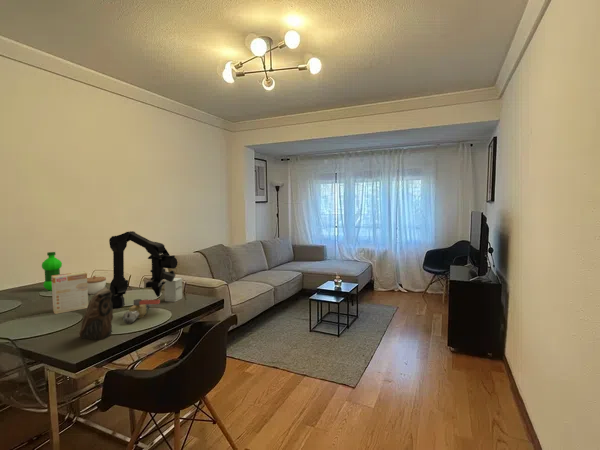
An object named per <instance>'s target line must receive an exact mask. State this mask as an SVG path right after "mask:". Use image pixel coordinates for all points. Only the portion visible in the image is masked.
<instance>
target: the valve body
mask: <svg viewBox="0 0 600 450" xmlns="http://www.w3.org/2000/svg"><path fill="white" fill-rule="evenodd" d="M143 300H148V299H146V298H144V299H143ZM151 306H152V304H141V305H137V306H135V305H134V304H133V305H132V306H130V307H129V308H128V311H126V312H125V313H124V314H123V315H122V320H123V322H124V323H125V324H127V325H129V324H132V323H134V322H135V321H136V320H137V319H142V318H144V317H145V316H146V315H147V310H149V309H150V308H151ZM145 314H146V315H145ZM144 315H145V316H144Z"/></svg>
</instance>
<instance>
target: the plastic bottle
mask: <svg viewBox="0 0 600 450" xmlns="http://www.w3.org/2000/svg"><path fill="white" fill-rule="evenodd" d="M47 256H48V257H47V258H46V259H44V261H43V262H42V263H41V268H42V270H43V271H44V282H43V285H42V286H43V288H45V289H46V290H47V291H50V292H52V279H51V276H52V275H60V274H61V268H62V266H63V265H62V264H63V263H62V261H61V260H60V259H59V258H57V257H56V251H50V252H47Z"/></svg>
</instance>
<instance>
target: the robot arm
mask: <svg viewBox="0 0 600 450" xmlns="http://www.w3.org/2000/svg"><path fill="white" fill-rule="evenodd" d="M108 242H109V248H110V250H111V251H112V252H113V253H112V255H113V259H112V260H113V261H112V262H113V263H112V264H113V270H112V271H113V278H112V280H111V282H110V285H109V289H110V291H111V293H112V296H111V302H112V303H113V306H112V308H113V309H120V308H122V307H124V305H125V304H126V303H125V297H124V295H126V293H127V290H128V288H129V279H126V278H125V274H124V273H125V271H124V270H125V266H124V265H125V262H124V260H125V258H124V257H125V256H124V255H125V254H124V253H125V249H126V248H127V247H128V242H132V243H134V244H136V245H138V246H140V247H142V248H143V249H145V250H146V252H147V253H148V254H149V256H148V257H147V259H148V260H151V269H150V273H151V278H150V280H148V281H147V282H145V288H147V289H148V288H149V289H150V288H151V289H152V290H153V292H154V294H155V295H156V297H157V298H159V297H160V296H161V292H162V288H163V286H165V283H166V282H164V280H168V281H170V282H172V281H173V280H174V278H176V273H175V270H169V271H166V269H176V268H177V266H178V260H177V258H176V256H175V255H174V254H173V255H170V253H169V252H168V250H167V249H166V247H165V244H163V243H161V242H157V241H153V240H150V239H148V238H146V237H144V236H142V235H141V234H138V233H136V231H131V230H130V231H125V232H124V233H121V234H118V235H112V236H111V237H109V241H108Z"/></svg>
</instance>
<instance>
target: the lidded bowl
mask: <svg viewBox="0 0 600 450" xmlns="http://www.w3.org/2000/svg"><path fill="white" fill-rule="evenodd" d="M106 281H107V278H106V277H105V276H96V275H93V276H91V277H87V287H88V295H95V294H96V293H97V292H98V291H99V290H101V289H103V288H104V287H106V284H107V282H106Z"/></svg>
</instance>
